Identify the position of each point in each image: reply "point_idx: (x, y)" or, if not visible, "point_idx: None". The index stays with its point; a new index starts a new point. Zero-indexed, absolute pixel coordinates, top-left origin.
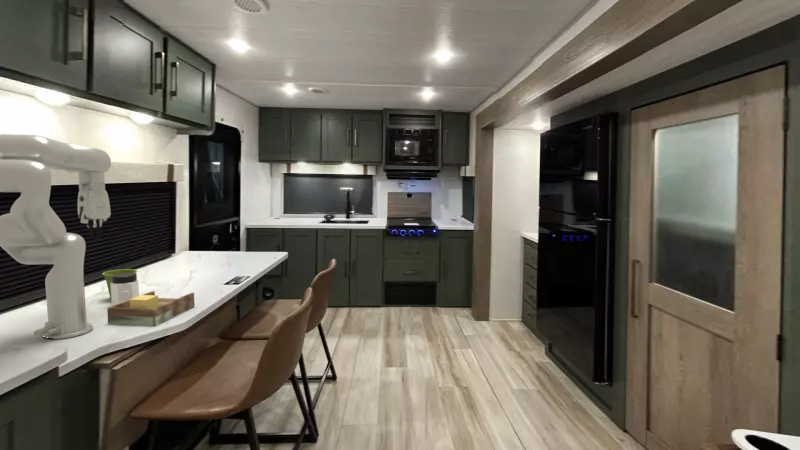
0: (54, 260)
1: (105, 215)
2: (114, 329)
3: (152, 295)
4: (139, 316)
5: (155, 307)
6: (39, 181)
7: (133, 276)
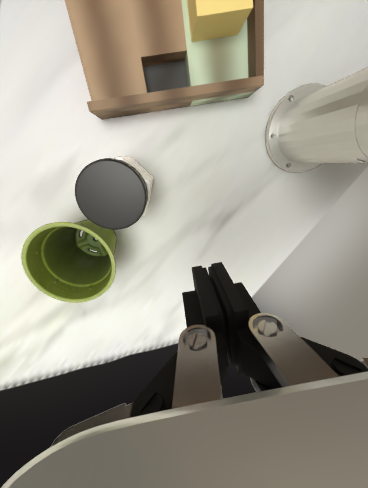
0: None
1: (170, 467)
2: (277, 43)
3: None
4: None
5: None
6: None
7: (105, 158)
